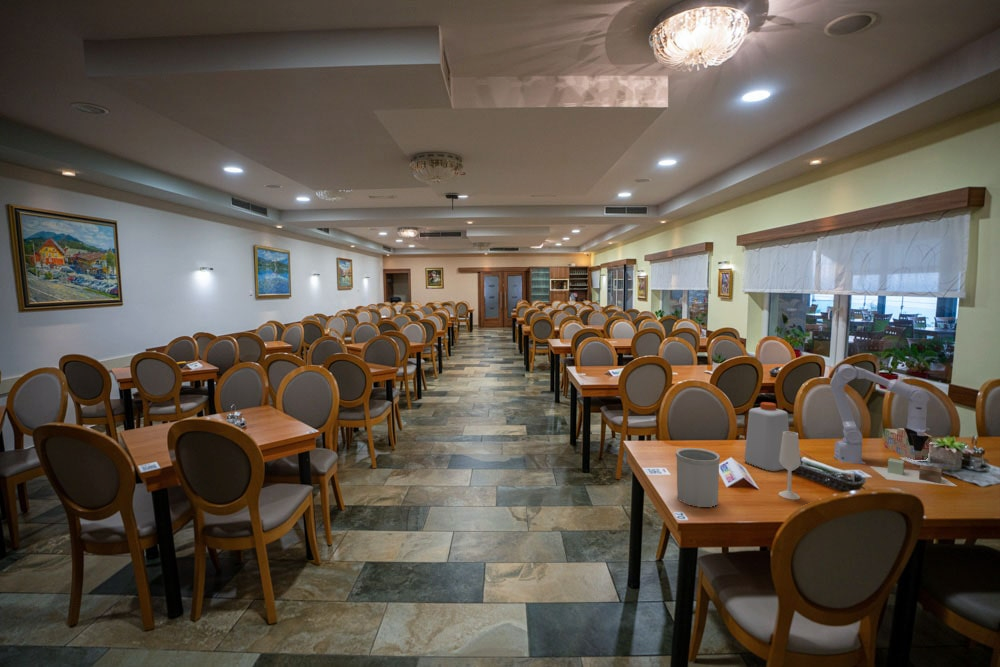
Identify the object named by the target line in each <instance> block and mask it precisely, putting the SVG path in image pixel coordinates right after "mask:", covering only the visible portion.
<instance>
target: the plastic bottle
mask: <svg viewBox="0 0 1000 667" xmlns="http://www.w3.org/2000/svg"><path fill="white" fill-rule="evenodd" d="M789 426H790V425H789V413H788V412H787V411H785V410H784V409H783V410H782V409H779V408H777V403H774V402H767V401H762V402H760V405H759V407H753V408H750V409H749V410H748V419H747V427H746V428H747V429H746V440H745V449H744V461H745V463H746V462H747V463H746V464H748V463H749V464H748V465H750V464H752V465H751V466H753V465H754V466H753V467H756V466H757V467H756V468H758V467H759V469H761V468H762V470H764V469H765V470H764V471H768V470H769V472H777V471H782V470H785V468H784V467H783V466H782V465H781V463H780V461H779V458H780V451H781V443H782V436H783V432H784V431H790V429H789V428H790V427H789Z"/></svg>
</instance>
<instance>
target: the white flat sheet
mask: <svg viewBox="0 0 1000 667" xmlns="http://www.w3.org/2000/svg"><path fill="white" fill-rule="evenodd" d="M869 467H870V468H871V469H872V470H874V471H875V472H876V473H878V474H879V475H881V476H882V478H884V479H886V480H887V481H898V482H899V481H900V482H908V483H919V484H929V485H930V484H931V485H942V486H950V487H951V486H952V487H958V485H956V484H955V483H953V482H952V481H950V480H949V479H946V478H945V477H943V476H941V483H940V484H939V483H934V482H929V481H925V480H920V479H919V470H914V469H905V468H904V473H903V475H898V474H893V473H888V467H880V466H869Z"/></svg>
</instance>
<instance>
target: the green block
mask: <svg viewBox="0 0 1000 667" xmlns="http://www.w3.org/2000/svg"><path fill="white" fill-rule="evenodd" d="M887 468H888V473H893V474H898V475H903V473H904V469H905V460H901V459H898V458H891V457H889V458H888V460H887Z"/></svg>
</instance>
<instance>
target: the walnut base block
mask: <svg viewBox="0 0 1000 667" xmlns="http://www.w3.org/2000/svg"><path fill="white" fill-rule="evenodd" d="M918 471H919V479H920V480H925V481H929V482H934V483H939V484H940V483H941V476H942V474H943V469H942V468H941V467H936V466H931V465H925V464H920V466H919V470H918ZM942 477H943V476H942ZM939 484H938V485H939Z"/></svg>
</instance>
